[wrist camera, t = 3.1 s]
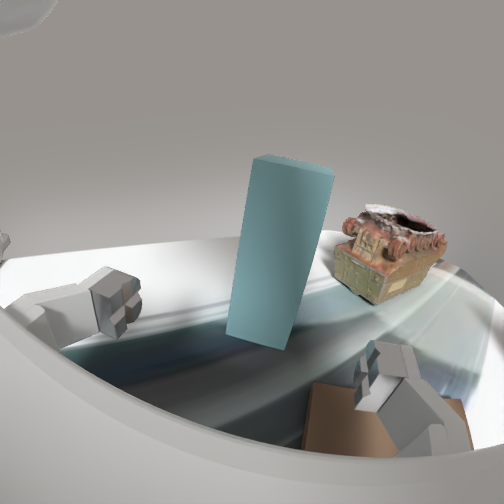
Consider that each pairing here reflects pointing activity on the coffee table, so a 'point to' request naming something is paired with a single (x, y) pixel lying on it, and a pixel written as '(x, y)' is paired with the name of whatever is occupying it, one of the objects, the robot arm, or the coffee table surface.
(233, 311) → the teal block
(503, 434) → the coffee table surface
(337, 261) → the decorative box
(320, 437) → the walnut board
